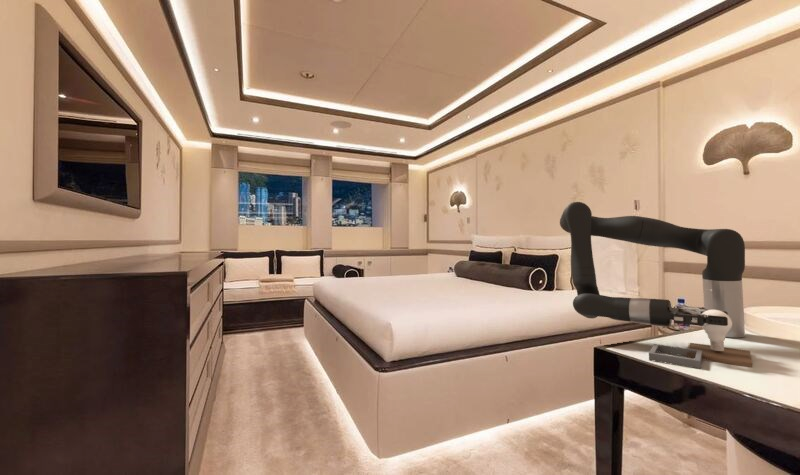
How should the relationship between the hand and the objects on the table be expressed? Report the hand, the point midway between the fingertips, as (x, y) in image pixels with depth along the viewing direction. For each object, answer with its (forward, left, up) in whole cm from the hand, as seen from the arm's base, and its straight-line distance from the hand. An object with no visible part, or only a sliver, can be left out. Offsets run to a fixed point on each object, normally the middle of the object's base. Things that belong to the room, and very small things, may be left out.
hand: (727, 318), depth 89 cm
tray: (+9, -10, -10) cm, 17 cm away
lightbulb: (0, -2, -9) cm, 9 cm away
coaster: (0, -2, -10) cm, 10 cm away
